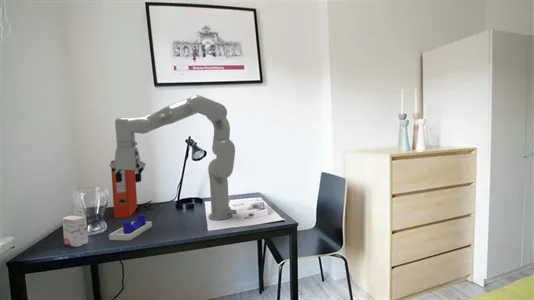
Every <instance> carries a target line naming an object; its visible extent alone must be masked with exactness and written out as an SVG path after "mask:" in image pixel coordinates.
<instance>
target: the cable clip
mask: <svg viewBox="0 0 534 300" xmlns="http://www.w3.org/2000/svg"><path fill="white" fill-rule="evenodd" d="M136 216H137V218H136V220H135V221H124V222H123V223H122V227H123V231H124V234H130V233H132V232H134V231H135V230H137V229H139V228H140V227H142V226H144V225H145V222H146V214H138V215H136ZM131 222H133V224H131Z"/></svg>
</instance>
